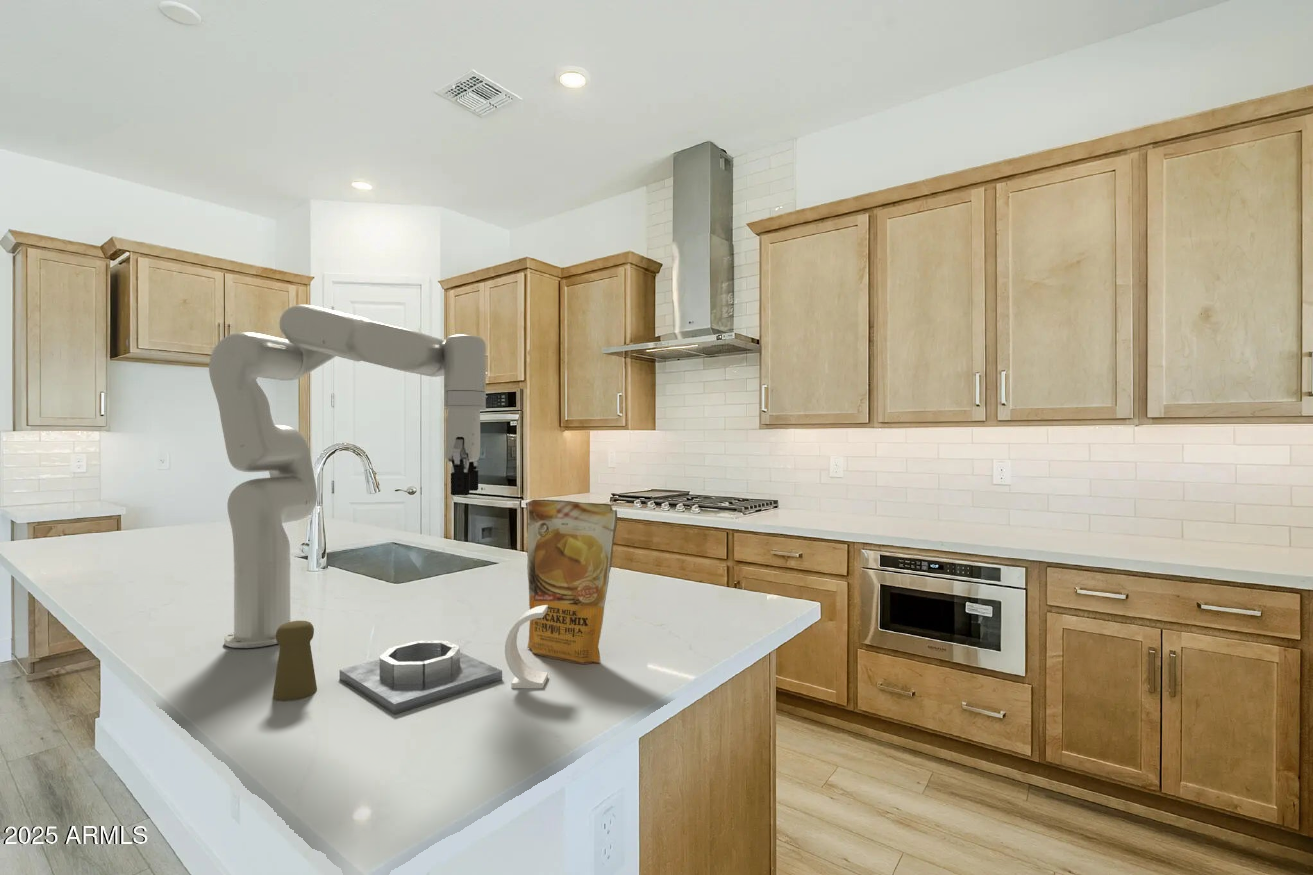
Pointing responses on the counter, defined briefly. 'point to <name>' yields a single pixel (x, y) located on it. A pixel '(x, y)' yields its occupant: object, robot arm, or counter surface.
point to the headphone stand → (518, 667)
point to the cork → (294, 662)
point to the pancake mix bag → (569, 576)
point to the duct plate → (418, 691)
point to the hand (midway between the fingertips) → (465, 492)
